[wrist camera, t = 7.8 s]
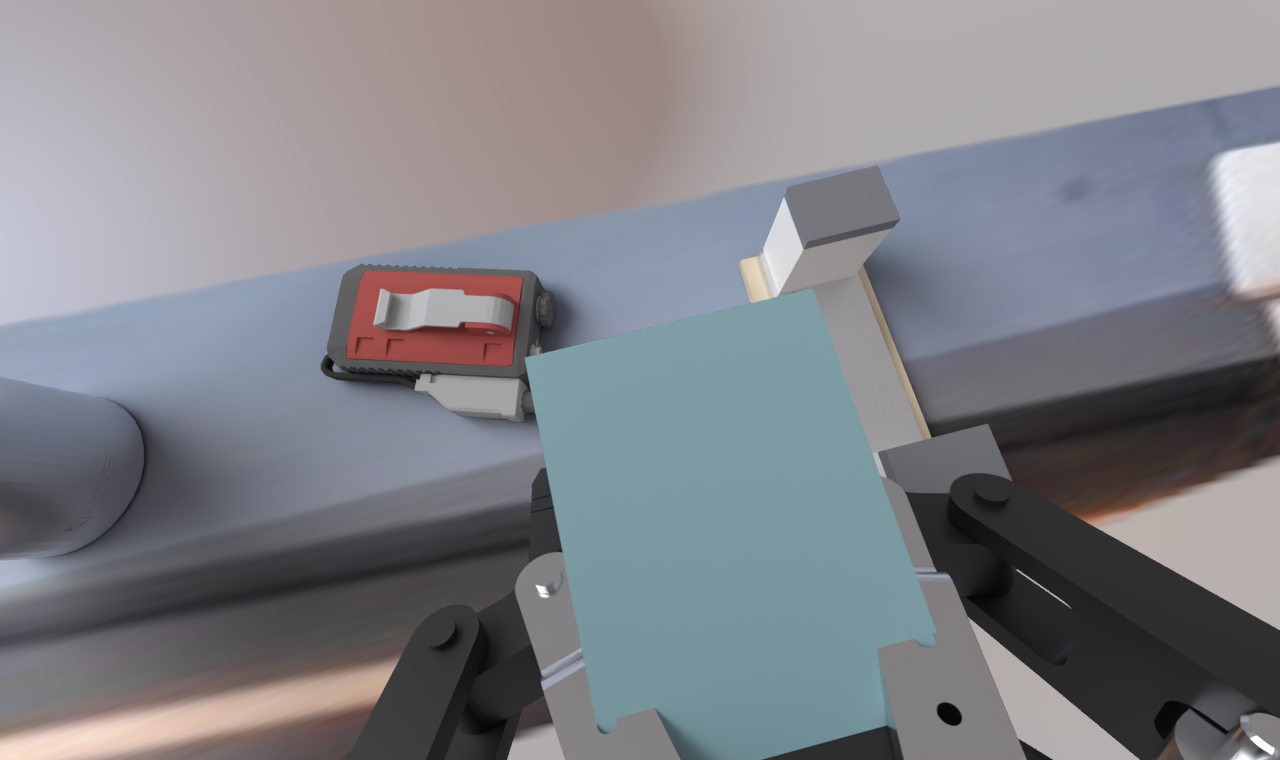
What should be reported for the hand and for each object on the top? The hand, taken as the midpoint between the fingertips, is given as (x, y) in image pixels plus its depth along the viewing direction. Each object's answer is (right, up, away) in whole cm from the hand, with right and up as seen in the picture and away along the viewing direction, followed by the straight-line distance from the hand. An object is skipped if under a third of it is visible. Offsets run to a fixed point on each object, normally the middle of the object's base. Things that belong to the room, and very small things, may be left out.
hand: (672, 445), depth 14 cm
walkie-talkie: (-9, +3, +18) cm, 21 cm away
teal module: (+1, -3, +4) cm, 5 cm away
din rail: (+11, +2, +17) cm, 20 cm away
